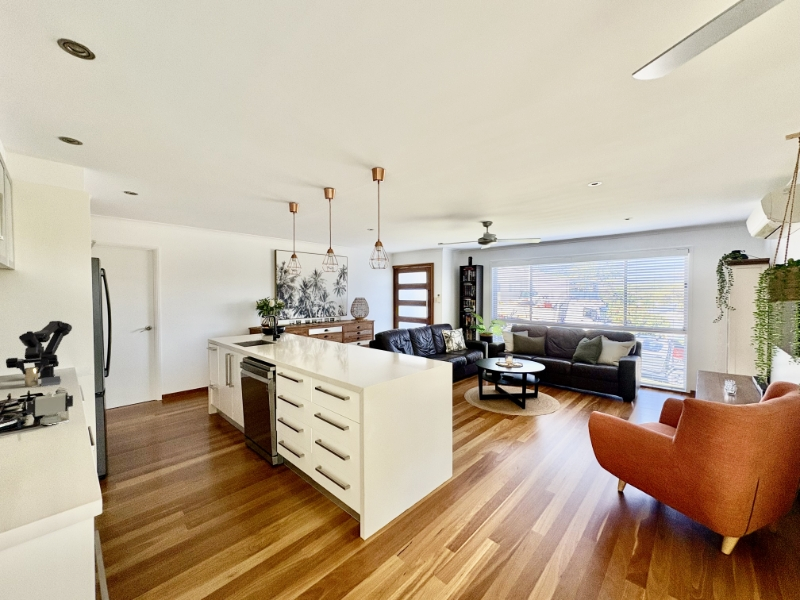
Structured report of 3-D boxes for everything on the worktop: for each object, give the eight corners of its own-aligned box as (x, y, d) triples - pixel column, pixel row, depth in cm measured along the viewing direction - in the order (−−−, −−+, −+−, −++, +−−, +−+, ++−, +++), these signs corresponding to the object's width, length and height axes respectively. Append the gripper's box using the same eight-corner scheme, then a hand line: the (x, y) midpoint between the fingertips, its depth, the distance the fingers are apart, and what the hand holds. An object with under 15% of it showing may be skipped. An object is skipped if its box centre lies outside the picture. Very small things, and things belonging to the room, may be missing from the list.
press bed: (43, 383, 180) (43, 375, 180) (61, 381, 185) (61, 373, 185) (41, 386, 174) (41, 378, 174) (59, 384, 178) (59, 376, 178)
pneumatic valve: (72, 422, 124) (72, 391, 124) (26, 430, 115) (26, 397, 115) (72, 418, 128) (73, 388, 128) (28, 426, 119) (28, 394, 119)
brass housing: (25, 385, 175) (25, 367, 175) (38, 384, 178) (38, 366, 178) (24, 387, 171) (24, 369, 171) (37, 386, 175) (37, 367, 175)
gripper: (6, 343, 171) (2, 367, 163) (57, 340, 184) (55, 362, 176) (9, 356, 177) (5, 379, 169) (58, 352, 190) (56, 374, 182)
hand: (31, 373), depth 174 cm, fingers closed on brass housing, 5 cm apart
